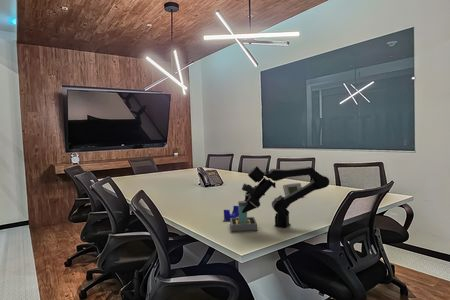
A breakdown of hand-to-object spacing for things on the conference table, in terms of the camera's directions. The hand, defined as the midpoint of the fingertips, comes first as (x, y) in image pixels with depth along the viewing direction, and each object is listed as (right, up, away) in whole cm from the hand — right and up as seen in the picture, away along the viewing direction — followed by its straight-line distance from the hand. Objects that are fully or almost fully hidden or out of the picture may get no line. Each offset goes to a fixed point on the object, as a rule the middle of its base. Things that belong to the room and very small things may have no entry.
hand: (241, 210), depth 156 cm
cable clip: (-4, -9, +20) cm, 22 cm away
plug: (+1, -8, 0) cm, 9 cm away
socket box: (+1, -9, 0) cm, 9 cm away
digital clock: (+43, -5, +67) cm, 80 cm away
